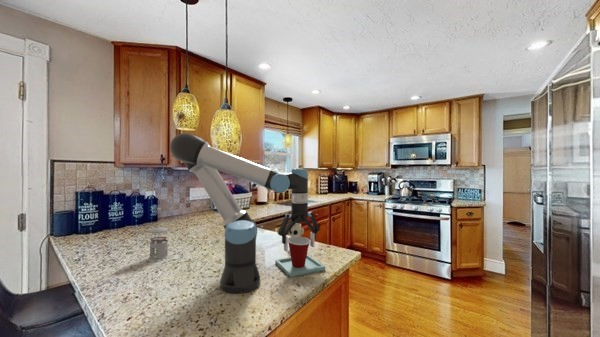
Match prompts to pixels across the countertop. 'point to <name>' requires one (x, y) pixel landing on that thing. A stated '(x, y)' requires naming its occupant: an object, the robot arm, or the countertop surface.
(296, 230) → the character mug
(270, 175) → the robot arm
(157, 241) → the french press
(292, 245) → the plastic cup
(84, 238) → the countertop surface
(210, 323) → the countertop surface
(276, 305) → the countertop surface
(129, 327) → the countertop surface
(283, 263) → the tray
